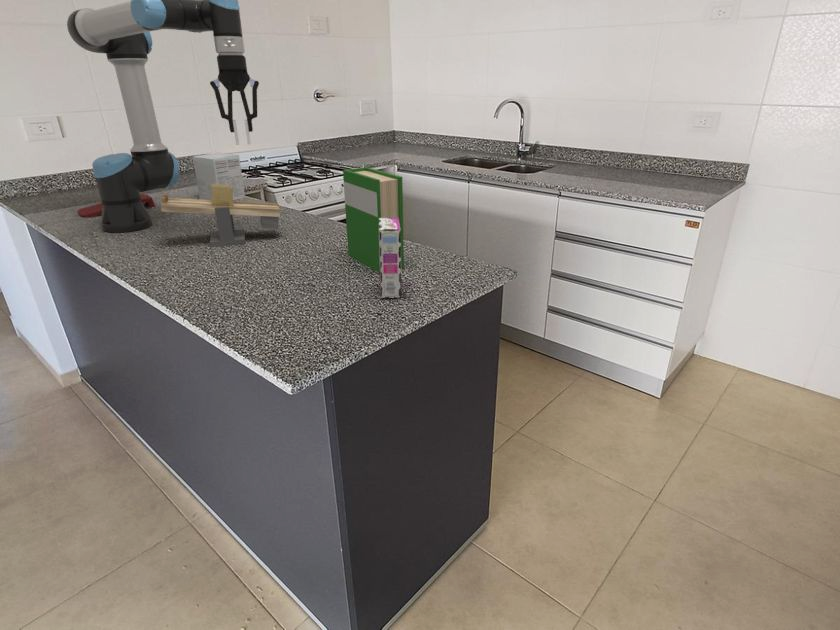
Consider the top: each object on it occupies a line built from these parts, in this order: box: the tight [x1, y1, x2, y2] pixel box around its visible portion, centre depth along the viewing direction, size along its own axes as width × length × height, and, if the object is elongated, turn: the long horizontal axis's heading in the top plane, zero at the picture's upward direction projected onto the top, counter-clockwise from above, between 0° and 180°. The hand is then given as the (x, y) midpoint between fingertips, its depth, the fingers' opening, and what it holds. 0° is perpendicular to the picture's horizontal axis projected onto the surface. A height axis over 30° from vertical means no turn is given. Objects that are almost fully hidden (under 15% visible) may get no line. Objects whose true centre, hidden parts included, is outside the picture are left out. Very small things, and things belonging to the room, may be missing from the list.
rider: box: [211, 184, 234, 207], centre depth 157 cm, size 5×6×6 cm
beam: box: [160, 193, 281, 230], centre depth 158 cm, size 10×33×8 cm, turn 108°
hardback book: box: [342, 167, 405, 274], centre depth 138 cm, size 18×7×24 cm, turn 34°
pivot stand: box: [209, 207, 246, 248], centre depth 160 cm, size 12×10×12 cm
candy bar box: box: [379, 218, 402, 299], centre depth 121 cm, size 11×5×16 cm, turn 5°
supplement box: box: [191, 152, 246, 201], centre depth 213 cm, size 13×13×18 cm
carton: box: [77, 193, 156, 219], centre depth 199 cm, size 12×5×25 cm
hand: (243, 143), depth 153 cm, fingers open, 3 cm apart
